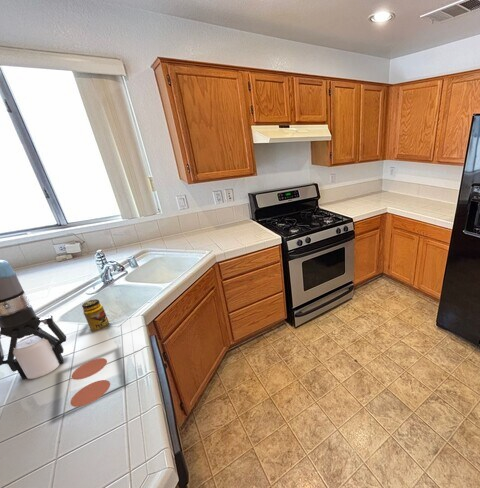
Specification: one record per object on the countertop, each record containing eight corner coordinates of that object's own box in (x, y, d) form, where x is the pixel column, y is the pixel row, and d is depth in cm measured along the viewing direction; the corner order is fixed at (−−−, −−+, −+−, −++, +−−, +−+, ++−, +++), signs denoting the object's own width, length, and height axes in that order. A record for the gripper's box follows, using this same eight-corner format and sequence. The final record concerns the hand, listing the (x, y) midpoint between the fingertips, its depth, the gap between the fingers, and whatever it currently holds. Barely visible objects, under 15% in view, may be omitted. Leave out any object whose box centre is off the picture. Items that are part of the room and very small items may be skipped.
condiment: (108, 329, 107) (98, 304, 103) (82, 336, 103) (70, 310, 99) (112, 320, 113) (103, 295, 109) (88, 326, 110) (77, 301, 106)
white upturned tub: (22, 376, 85) (5, 346, 81) (53, 358, 92) (39, 330, 88) (35, 383, 82) (17, 352, 78) (66, 364, 89) (52, 335, 85)
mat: (55, 422, 69) (54, 420, 69) (60, 375, 84) (59, 373, 84) (124, 388, 78) (123, 386, 78) (117, 351, 94) (116, 349, 93)
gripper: (-48, 331, 70) (-7, 395, 78) (59, 300, 83) (85, 357, 90) (-39, 320, 75) (-2, 380, 83) (60, 292, 88) (84, 347, 96)
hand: (43, 368), depth 87 cm, fingers closed on white upturned tub, 8 cm apart
